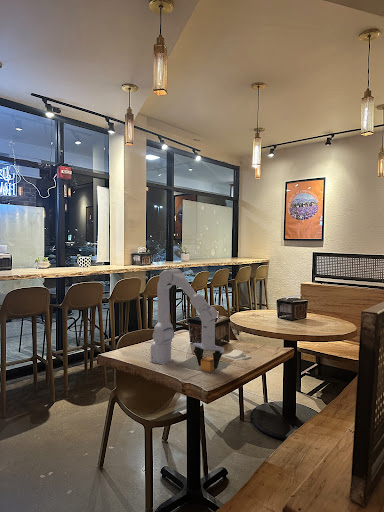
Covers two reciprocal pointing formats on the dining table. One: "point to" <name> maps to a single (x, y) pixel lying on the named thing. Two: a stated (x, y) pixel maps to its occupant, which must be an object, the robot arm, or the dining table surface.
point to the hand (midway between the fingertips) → (208, 366)
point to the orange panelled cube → (207, 364)
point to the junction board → (194, 365)
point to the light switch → (236, 355)
